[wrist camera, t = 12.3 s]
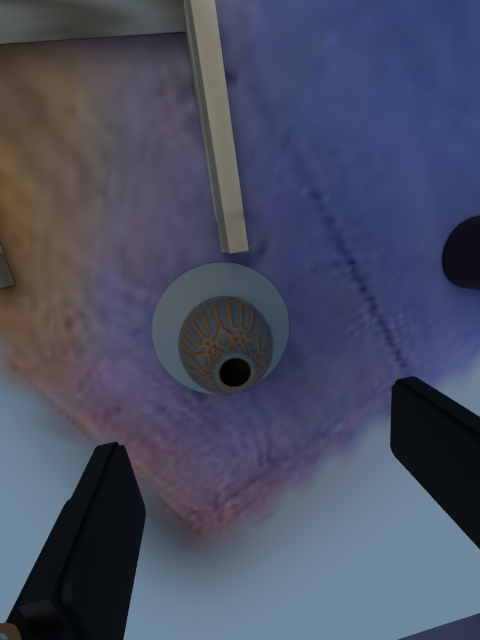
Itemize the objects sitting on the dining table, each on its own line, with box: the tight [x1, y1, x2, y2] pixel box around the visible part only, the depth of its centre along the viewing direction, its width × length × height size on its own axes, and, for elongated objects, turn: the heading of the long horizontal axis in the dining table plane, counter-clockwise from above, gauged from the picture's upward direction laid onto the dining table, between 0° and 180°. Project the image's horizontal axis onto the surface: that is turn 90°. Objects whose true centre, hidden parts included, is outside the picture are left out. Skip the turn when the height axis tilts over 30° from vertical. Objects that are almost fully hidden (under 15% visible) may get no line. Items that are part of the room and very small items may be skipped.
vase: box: [178, 296, 273, 395], centre depth 20 cm, size 7×7×9 cm
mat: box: [152, 262, 289, 395], centre depth 24 cm, size 12×12×1 cm
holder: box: [0, 0, 249, 288], centre depth 17 cm, size 18×16×6 cm
